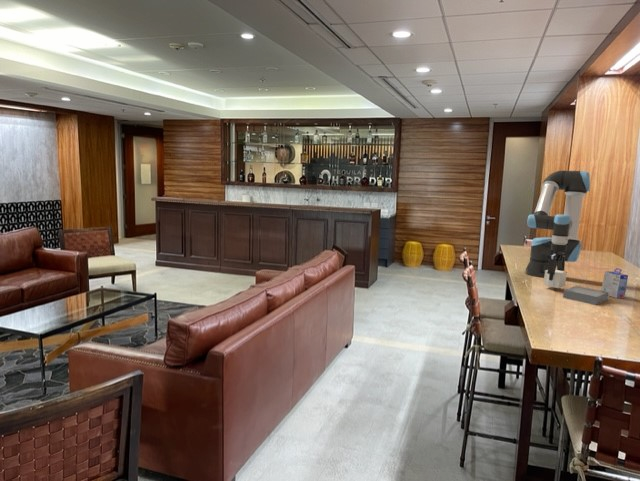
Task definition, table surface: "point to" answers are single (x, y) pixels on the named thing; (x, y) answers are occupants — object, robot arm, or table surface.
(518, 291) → the table surface
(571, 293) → the charcoal riser
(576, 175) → the robot arm
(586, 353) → the table surface
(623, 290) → the ink cartridge box
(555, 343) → the table surface
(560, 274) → the cream cube
